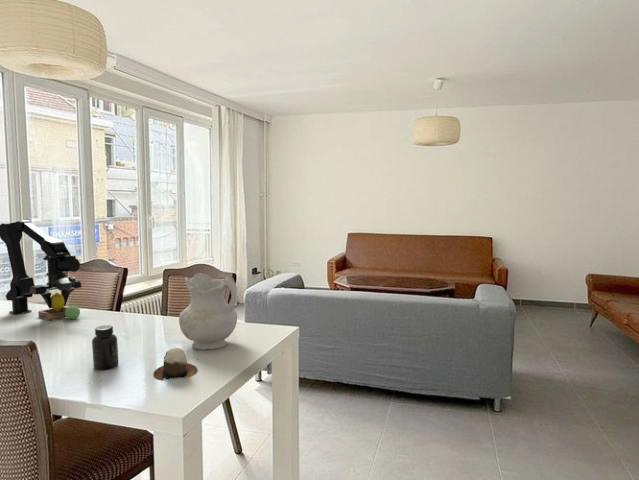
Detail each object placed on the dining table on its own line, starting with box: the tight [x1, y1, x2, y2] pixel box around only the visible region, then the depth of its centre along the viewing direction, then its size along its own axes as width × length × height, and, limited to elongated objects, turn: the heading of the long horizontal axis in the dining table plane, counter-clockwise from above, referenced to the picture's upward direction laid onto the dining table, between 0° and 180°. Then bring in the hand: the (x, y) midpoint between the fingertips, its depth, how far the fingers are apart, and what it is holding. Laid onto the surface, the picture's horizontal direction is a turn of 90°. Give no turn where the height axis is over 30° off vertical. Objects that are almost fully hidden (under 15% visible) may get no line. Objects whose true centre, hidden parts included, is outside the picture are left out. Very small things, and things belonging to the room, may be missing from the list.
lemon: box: [51, 292, 65, 311], centre depth 193 cm, size 6×6×8 cm
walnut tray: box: [38, 305, 69, 321], centre depth 194 cm, size 11×11×2 cm
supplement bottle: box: [91, 325, 119, 371], centre depth 135 cm, size 7×7×12 cm
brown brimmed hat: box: [153, 346, 198, 382], centre depth 131 cm, size 12×10×10 cm
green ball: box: [65, 305, 81, 320], centre depth 189 cm, size 6×6×6 cm
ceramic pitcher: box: [178, 272, 238, 351], centre depth 155 cm, size 22×20×25 cm
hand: (57, 307), depth 193 cm, fingers closed on lemon, 5 cm apart
